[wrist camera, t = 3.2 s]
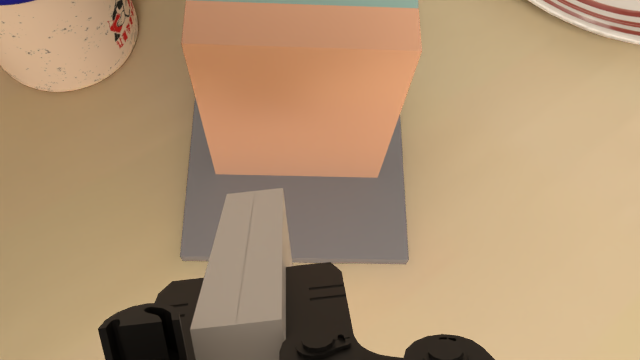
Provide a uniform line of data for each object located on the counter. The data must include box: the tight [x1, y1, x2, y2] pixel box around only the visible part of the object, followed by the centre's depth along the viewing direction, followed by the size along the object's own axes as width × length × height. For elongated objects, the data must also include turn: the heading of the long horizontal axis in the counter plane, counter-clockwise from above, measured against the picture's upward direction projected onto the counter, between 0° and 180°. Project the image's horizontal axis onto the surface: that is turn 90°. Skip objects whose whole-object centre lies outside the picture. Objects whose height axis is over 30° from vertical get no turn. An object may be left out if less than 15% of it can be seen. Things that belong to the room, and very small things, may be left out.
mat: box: [180, 97, 409, 264], centre depth 36 cm, size 20×12×1 cm, turn 0°
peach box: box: [181, 0, 422, 178], centre depth 29 cm, size 2×9×12 cm, turn 90°
